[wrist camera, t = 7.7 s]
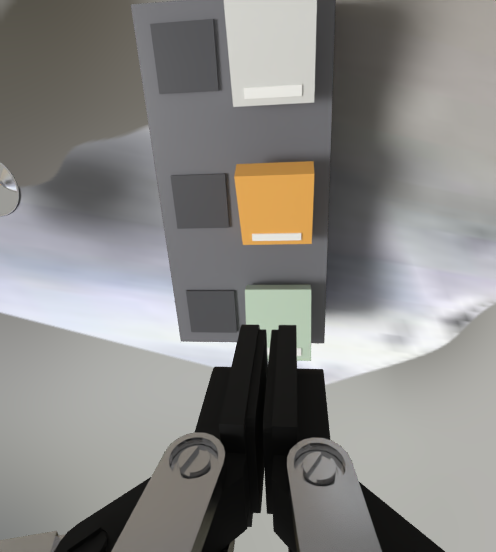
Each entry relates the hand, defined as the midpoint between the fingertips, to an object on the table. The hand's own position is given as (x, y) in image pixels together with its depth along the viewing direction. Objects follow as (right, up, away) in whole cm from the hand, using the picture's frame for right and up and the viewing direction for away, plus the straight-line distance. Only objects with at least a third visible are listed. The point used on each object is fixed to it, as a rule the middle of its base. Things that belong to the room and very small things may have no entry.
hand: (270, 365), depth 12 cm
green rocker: (+1, 0, +13) cm, 13 cm away
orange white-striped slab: (+1, +7, +10) cm, 12 cm away
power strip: (-1, +11, +14) cm, 18 cm away
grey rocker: (0, +13, +7) cm, 15 cm away
